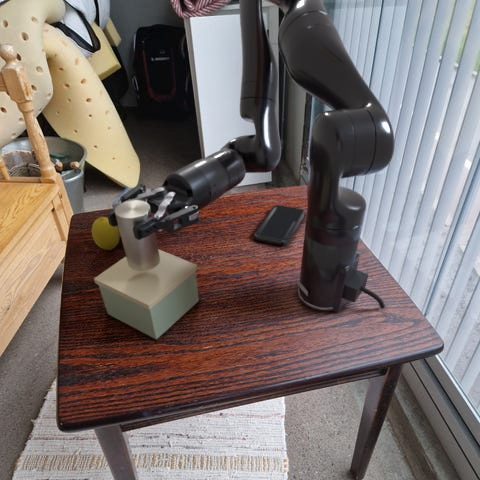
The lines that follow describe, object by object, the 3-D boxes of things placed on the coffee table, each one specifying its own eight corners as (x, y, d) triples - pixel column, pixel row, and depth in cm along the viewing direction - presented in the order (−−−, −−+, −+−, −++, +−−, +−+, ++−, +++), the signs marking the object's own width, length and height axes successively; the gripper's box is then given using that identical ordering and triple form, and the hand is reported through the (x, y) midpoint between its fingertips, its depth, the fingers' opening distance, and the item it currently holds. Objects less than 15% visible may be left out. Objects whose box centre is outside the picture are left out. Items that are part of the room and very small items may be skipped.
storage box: (201, 300, 80) (197, 264, 74) (156, 341, 72) (148, 305, 66) (151, 278, 85) (144, 243, 79) (105, 314, 77) (93, 278, 72)
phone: (252, 235, 93) (275, 204, 103) (252, 239, 94) (275, 208, 104) (286, 242, 91) (306, 209, 101) (286, 247, 92) (305, 214, 102)
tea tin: (166, 258, 72) (157, 205, 65) (145, 275, 69) (132, 221, 62) (143, 248, 74) (132, 196, 67) (121, 264, 71) (107, 211, 64)
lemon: (92, 254, 91) (82, 221, 86) (106, 240, 95) (97, 208, 90) (114, 259, 90) (105, 226, 84) (127, 245, 94) (119, 213, 88)
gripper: (165, 154, 74) (86, 191, 65) (227, 176, 68) (150, 221, 59) (171, 193, 80) (99, 232, 70) (229, 217, 73) (158, 264, 64)
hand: (122, 227), depth 65 cm, fingers closed on tea tin, 5 cm apart
